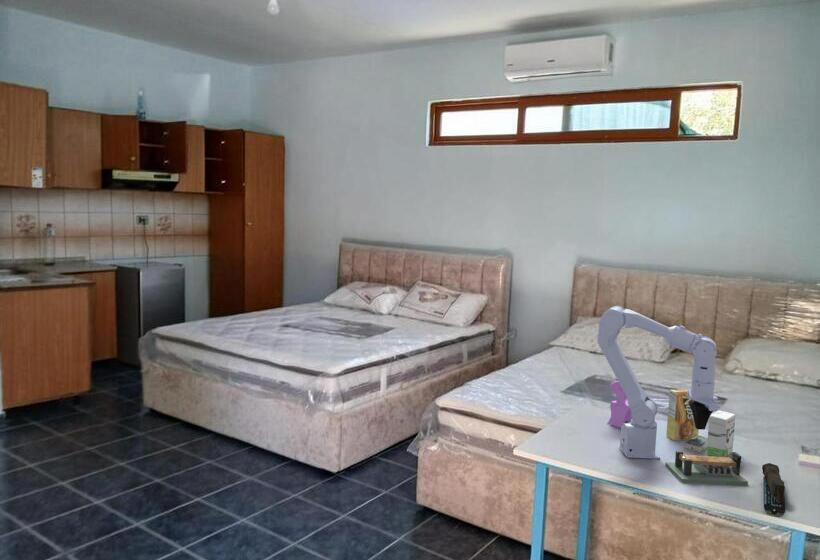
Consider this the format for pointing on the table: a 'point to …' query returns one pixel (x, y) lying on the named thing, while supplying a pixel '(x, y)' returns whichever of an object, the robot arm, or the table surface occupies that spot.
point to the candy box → (680, 416)
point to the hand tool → (774, 480)
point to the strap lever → (708, 460)
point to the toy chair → (619, 406)
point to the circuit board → (700, 478)
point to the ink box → (720, 434)
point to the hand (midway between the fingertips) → (700, 428)
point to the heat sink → (710, 467)
